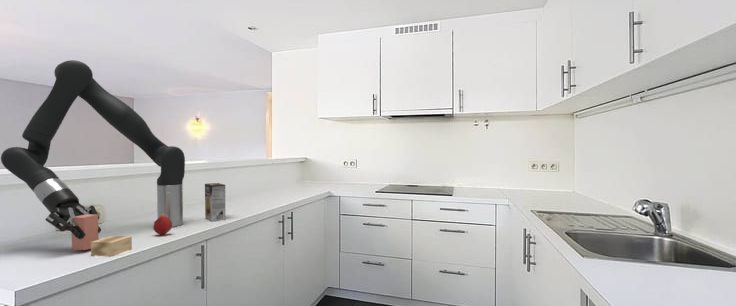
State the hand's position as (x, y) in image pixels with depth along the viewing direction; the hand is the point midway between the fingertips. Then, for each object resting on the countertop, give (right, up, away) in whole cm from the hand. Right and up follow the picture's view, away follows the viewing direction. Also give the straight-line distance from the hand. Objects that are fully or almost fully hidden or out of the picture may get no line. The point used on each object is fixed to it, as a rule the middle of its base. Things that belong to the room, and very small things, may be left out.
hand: (90, 234), depth 103 cm
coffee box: (+17, -5, +48) cm, 51 cm away
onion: (+11, -5, +19) cm, 22 cm away
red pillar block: (-2, -4, 0) cm, 5 cm away
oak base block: (+8, -5, -2) cm, 9 cm away
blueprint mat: (+3, -5, -1) cm, 6 cm away
